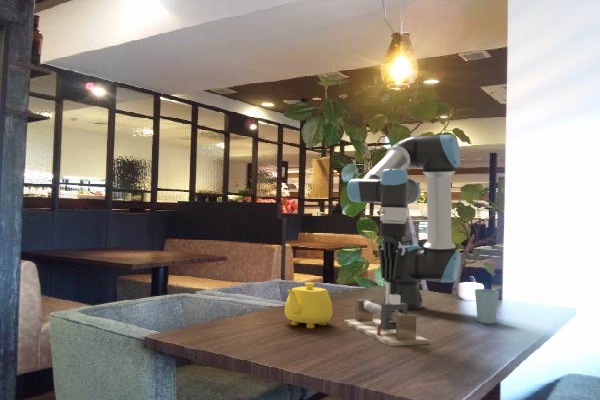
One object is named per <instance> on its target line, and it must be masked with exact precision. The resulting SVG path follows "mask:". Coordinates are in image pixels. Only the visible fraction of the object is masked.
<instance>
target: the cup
mask: <svg viewBox="0 0 600 400" xmlns="http://www.w3.org/2000/svg"><path fill="white" fill-rule="evenodd" d="M474 294H475V304H476V305H475V306H476V316H477V322H478V321H479V322H478V323H483V324H496V316H497V310H498V304H499V303H498V302H499V297H500V291H499V290H494V289H488V288H487V289H486V288H485V289H484V288H479V289H474Z"/></svg>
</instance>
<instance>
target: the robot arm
mask: <svg viewBox="0 0 600 400" xmlns="http://www.w3.org/2000/svg"><path fill="white" fill-rule="evenodd" d="M461 159H462V158H461V149H460V145H459V142H458V140H457V138H456V137H455V136H454V135H452V134H436V135H435V134H434V135H414V136H409V137H406V138H403V139H401V140H399V141H398V142H396V143H394V144H393V145H391V147H389V148H388V149H387V151H385V153H384V157H383V158H382V159H381V160H380V161H378V163H377V164H376V165H374V166H373V167H372V168H371V169H369V171H368V172H367V173H366V174H365V175H364V176H363V177H362V178H360V177H359V178H358V177H357V178H352V179H350V180H349V181H348V183H347V186H346V189H347V190H346V193H347V197H348V199H349V200H350V201H351V202H353V203H354V202H355V203H360V204H361V203H371V204H372V203H378V204H379V203H380V207H379V208H380V210H379V215H380V216H379V221H381V223H379V235H380V236H382V237H383V239H382V244H381V245H380V244H378V245H377V250H378V253H379V261H380V273H381V274H380V275H381V278H382V279H384V281H385V293H384V294H383V298H382V303H389V294H398V295H401V298H400V303H406V304H407V310H416V309H417V310H418V309H419V310H420V309H422V308H423V305H424V300H423V298H422V297H423V296H422V294H421V290H420V287H419V285H420V284H419V281H426V282H427V281H429V282H439V283H454V282H455V281H456V280H457V278H458V275H459V272H460V268H461V261H462V255H461V252H460V251H459V250H456V249H457V247H456V244H454V242H453V241H452V176H453V175H454V174H455V173H456V168H458V167H460V165H461ZM409 168H422V174H423V175H425V176H426V206H427V207H426V210H427V211H426V213H427V214H426V215H427V218H426V220H427V223H426V225H427V226H426V228H427V231H426V232H427V240H426V242H425V243H424V244H423V245H422V247H423V248H421V247H420V245H419V244H418V245H417V244H415V245H413V244H412V245H404V244H403V243H404V241H403V237H406V235H407V224H406V222H407V221H408V219H407V218H408V217H407V216H408V215H407V211H408V209H407V208H408V206H407V205H409V204H413V203H416V202H417V201H418V199H419V198H420V196H421V192H422V190H421V186H420V185H419V183H418V182H417V181H415V180H413V179H411V178H409V175H408V174H409V173H408V171H407V170H406V169H409Z"/></svg>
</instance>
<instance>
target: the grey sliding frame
mask: <svg viewBox="0 0 600 400" xmlns="http://www.w3.org/2000/svg"><path fill="white" fill-rule="evenodd" d="M400 298H401V295H398V294H389V303H383V302H382V303H381V304H380V305H381V316H380V320H381V328H382V329H384V330H394V329H396V322H393V321H391V320H390V310H394V311H398V312H400V313H402V314H405V315H407V314H408V309H407V304H406V303H400Z"/></svg>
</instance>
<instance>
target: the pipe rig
mask: <svg viewBox="0 0 600 400" xmlns="http://www.w3.org/2000/svg"><path fill="white" fill-rule="evenodd" d="M374 315H376V316H379V317H381V304H377V303H375V302H374V300H373V299H372V298H371V299H370V298H369V299H368V298H367V299H366V298H365V299H355V319H343V323H344V324H345V325H347V326H349V327H351V328H352V329H355V330H357V331H360V332H361V333H363V334H365V335H367V336H369V337H371V338H373V339H374V340H377V341H379V342H381V343H383V344H385V345H387V346H389V347H398V346H413V345H428V344H430V339H428V338H425V337H423V336H421V335H418V334H417V315H415V314H413V313H412V314H411V313H410V314H409V313H407V315H405V314H402V313H400V312H398V310H390V322H396V329H394V330H384V329H382V328H381V318H373V317H374Z"/></svg>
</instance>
